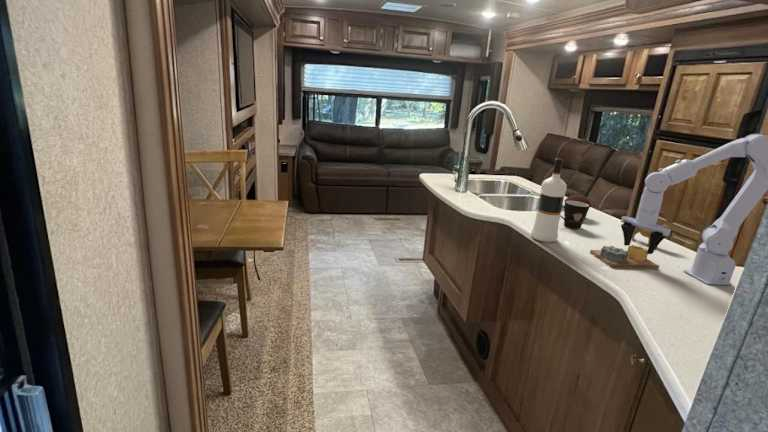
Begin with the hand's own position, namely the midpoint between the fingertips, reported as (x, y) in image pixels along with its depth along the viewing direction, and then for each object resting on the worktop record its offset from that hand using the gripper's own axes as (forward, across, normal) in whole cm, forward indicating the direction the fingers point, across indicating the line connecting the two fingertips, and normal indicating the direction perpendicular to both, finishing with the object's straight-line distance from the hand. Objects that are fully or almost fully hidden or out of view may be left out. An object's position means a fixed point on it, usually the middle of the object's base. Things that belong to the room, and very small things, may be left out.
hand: (638, 249), depth 133 cm
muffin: (+4, +43, -27) cm, 51 cm away
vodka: (+4, +27, +13) cm, 30 cm away
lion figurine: (+5, +10, -23) cm, 26 cm away
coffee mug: (+4, +34, -11) cm, 37 cm away
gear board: (+4, +2, +4) cm, 6 cm away
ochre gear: (+3, 0, 0) cm, 3 cm away
